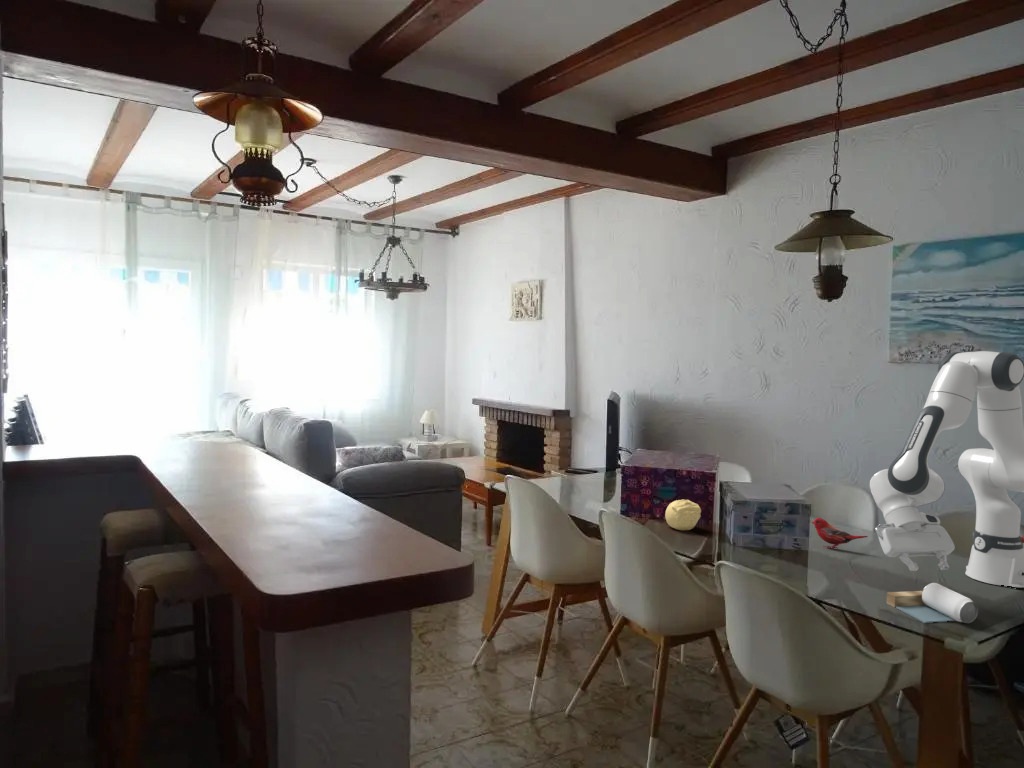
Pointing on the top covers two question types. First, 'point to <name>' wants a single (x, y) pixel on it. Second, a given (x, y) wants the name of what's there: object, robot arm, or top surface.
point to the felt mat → (925, 614)
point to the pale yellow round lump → (682, 514)
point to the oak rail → (905, 598)
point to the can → (949, 603)
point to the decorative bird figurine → (832, 533)
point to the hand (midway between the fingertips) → (930, 569)
